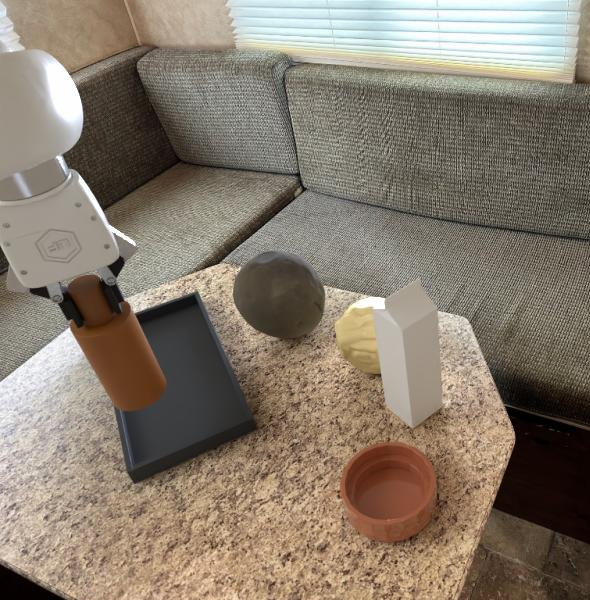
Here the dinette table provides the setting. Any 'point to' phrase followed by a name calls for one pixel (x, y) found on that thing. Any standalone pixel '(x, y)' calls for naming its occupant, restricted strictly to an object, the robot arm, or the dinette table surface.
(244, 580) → the dinette table surface
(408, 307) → the milk
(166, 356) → the tray
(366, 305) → the sculpture
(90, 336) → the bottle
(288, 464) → the dinette table surface
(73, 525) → the dinette table surface
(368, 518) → the bowl
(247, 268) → the dark grey rock
